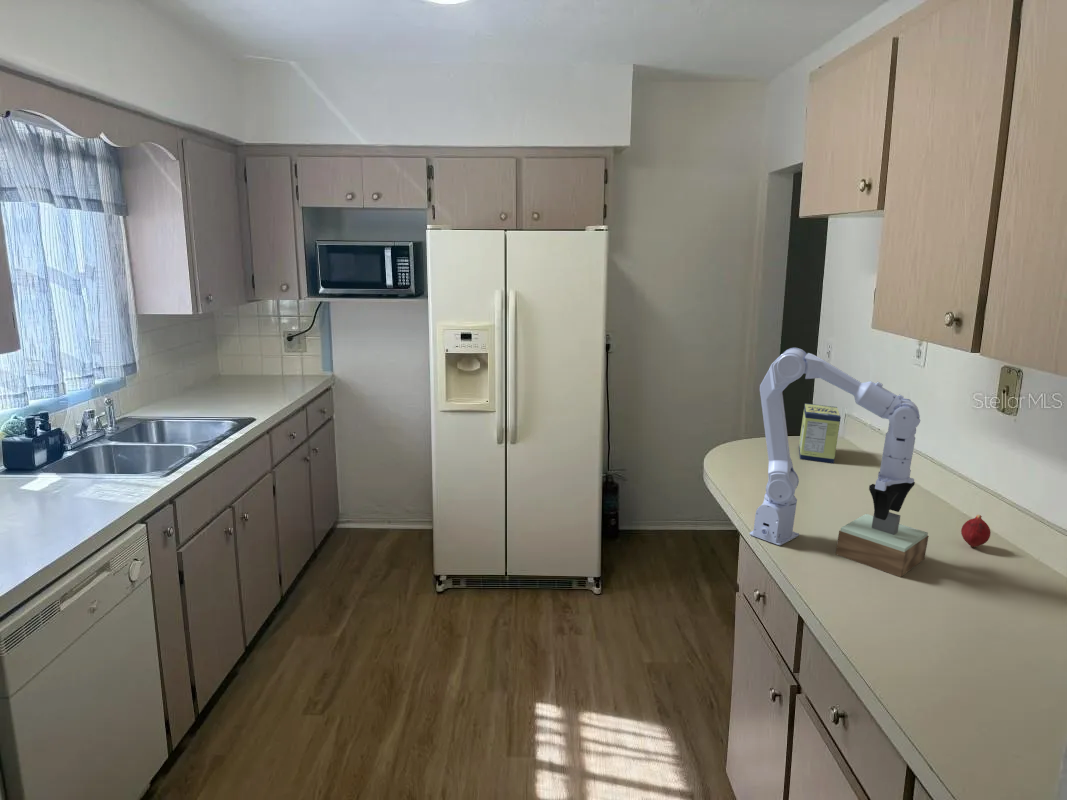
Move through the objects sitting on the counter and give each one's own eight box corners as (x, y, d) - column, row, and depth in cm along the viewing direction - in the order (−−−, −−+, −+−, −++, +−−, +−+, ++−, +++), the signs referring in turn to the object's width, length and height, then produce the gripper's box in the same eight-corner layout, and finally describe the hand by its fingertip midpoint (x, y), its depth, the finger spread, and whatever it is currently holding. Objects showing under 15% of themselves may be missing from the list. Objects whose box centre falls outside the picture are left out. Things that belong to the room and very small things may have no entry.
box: (900, 577, 152) (905, 552, 150) (835, 554, 161) (839, 531, 160) (924, 559, 161) (928, 535, 160) (861, 538, 171) (865, 516, 170)
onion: (989, 554, 166) (996, 521, 164) (961, 549, 167) (967, 517, 166) (983, 544, 171) (990, 513, 169) (956, 540, 173) (962, 508, 171)
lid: (904, 552, 151) (908, 530, 150) (840, 531, 160) (843, 510, 159) (927, 535, 160) (931, 515, 159) (865, 516, 169) (868, 497, 168)
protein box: (830, 450, 243) (837, 406, 240) (834, 464, 229) (841, 416, 225) (798, 446, 246) (804, 402, 243) (799, 459, 232) (806, 412, 228)
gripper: (904, 466, 148) (893, 528, 151) (928, 454, 158) (918, 512, 161) (869, 458, 153) (859, 517, 156) (895, 446, 163) (885, 503, 166)
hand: (887, 514), depth 159 cm, fingers open, 7 cm apart
